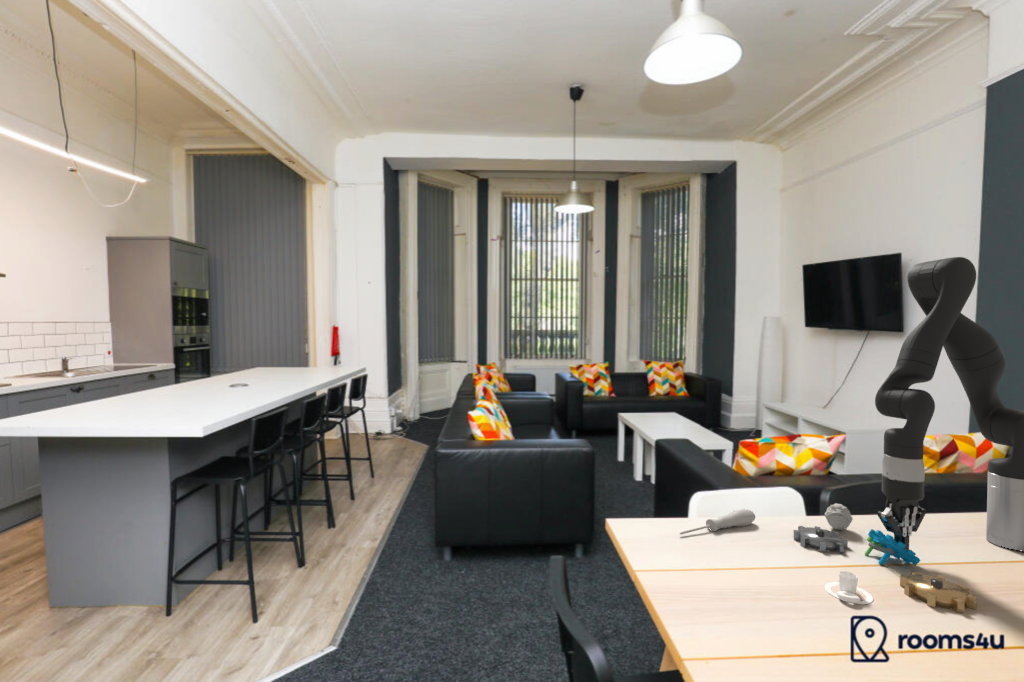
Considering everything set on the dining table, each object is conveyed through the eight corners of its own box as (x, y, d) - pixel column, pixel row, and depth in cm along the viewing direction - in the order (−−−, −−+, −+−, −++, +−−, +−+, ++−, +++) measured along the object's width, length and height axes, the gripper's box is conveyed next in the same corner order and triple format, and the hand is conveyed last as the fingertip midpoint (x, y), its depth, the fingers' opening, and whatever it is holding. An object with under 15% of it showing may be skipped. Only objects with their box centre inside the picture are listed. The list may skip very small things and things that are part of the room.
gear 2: (933, 566, 103) (899, 534, 104) (917, 588, 103) (883, 555, 103) (888, 550, 114) (858, 521, 114) (874, 569, 113) (843, 540, 114)
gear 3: (906, 575, 103) (906, 561, 103) (979, 597, 94) (979, 582, 94) (894, 594, 95) (894, 579, 95) (971, 620, 87) (972, 603, 87)
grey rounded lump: (824, 531, 125) (825, 505, 125) (824, 522, 131) (824, 497, 131) (853, 537, 122) (853, 509, 122) (851, 527, 128) (851, 501, 128)
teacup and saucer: (856, 611, 90) (857, 590, 90) (813, 591, 97) (814, 571, 97) (881, 600, 94) (882, 579, 94) (838, 581, 101) (839, 562, 101)
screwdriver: (674, 540, 124) (671, 523, 125) (747, 521, 133) (743, 505, 134) (687, 544, 120) (683, 526, 120) (761, 524, 129) (757, 507, 130)
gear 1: (816, 530, 126) (816, 519, 126) (858, 549, 115) (859, 537, 115) (783, 536, 122) (783, 524, 122) (824, 556, 112) (824, 543, 112)
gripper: (904, 468, 115) (903, 539, 115) (865, 473, 111) (864, 547, 111) (941, 477, 108) (939, 553, 108) (900, 483, 104) (898, 562, 104)
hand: (901, 550), depth 110 cm, fingers closed
